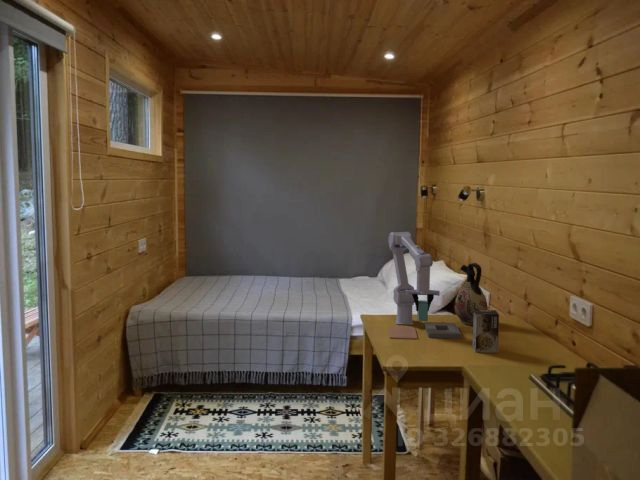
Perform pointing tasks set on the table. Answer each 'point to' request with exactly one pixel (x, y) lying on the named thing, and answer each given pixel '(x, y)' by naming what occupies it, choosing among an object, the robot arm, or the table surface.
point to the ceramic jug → (470, 295)
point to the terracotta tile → (402, 333)
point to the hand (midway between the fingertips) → (422, 310)
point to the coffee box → (485, 331)
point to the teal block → (422, 311)
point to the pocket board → (442, 330)
